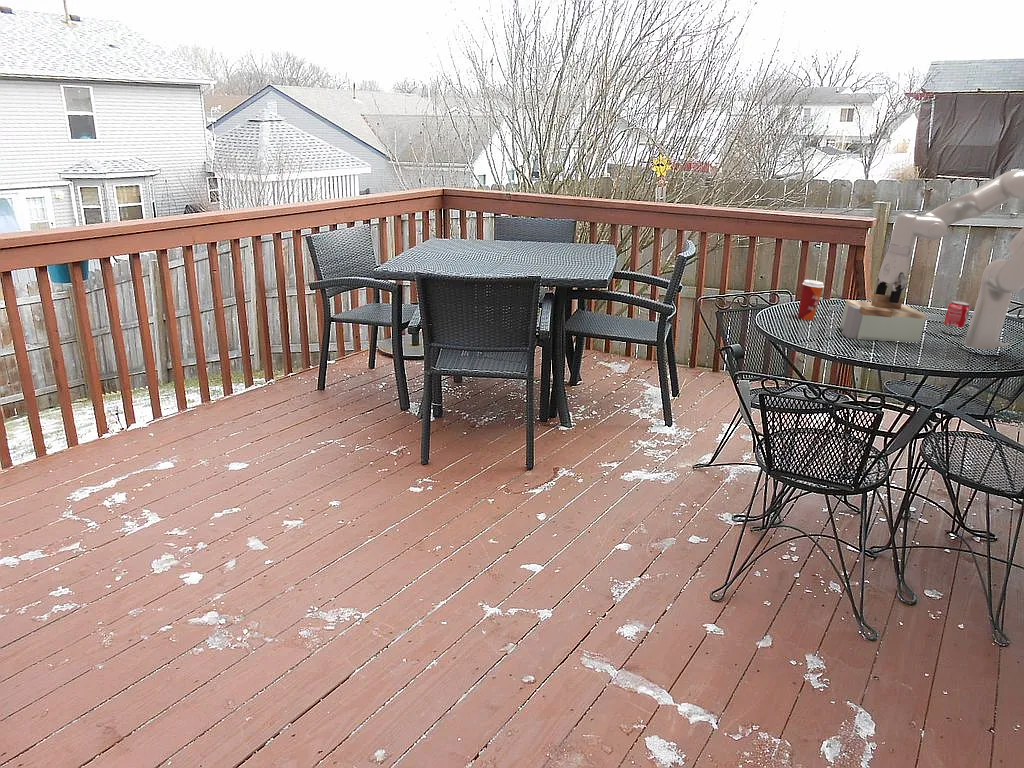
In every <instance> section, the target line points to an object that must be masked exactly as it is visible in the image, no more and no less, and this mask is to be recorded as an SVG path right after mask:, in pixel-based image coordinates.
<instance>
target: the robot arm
mask: <svg viewBox="0 0 1024 768" xmlns="http://www.w3.org/2000/svg"><path fill="white" fill-rule="evenodd" d="M1013 199H1017V200H1021V201H1024V170H1019V169H1017V170H1016V169H1013V170H1012V169H1011V170H1008V171H1006V172H1004V173H1003V174H1000V175H999V176H997V177H995V178H993V179H992V180H990V181H987V182H986V183H984V184H982V185H980V186H979V187H976V188H975V189H973V190H971V191H970V192H969V191H968V193H966V194H962V195H961V196H958V197H957V198H955V199H952V200H951V201H948V202H946V203H944V204H941V205H939V206H938V207H936V208H934V209H933V210H930V211H928V212H927V213H924V215H922V216H920V215H918V214H915V213H907V212H901V213H899V214H898V215H897V217H896V219H895V223H894V227H893V230H892V235H891V237H890V241H889V244H888V248H887V252H886V253H885V255H884V258H883V261H882V263H881V266H880V270H879V271H878V277H877V278H878V281H877V286H876V290H875V294H880V295H886V293H887V292H886V291H887V288H888V285H892V290H891V292H890V299H889V302H891V303H898V302H899V299H900V297H901V295H902V293H903V291H904V289H905V287H906V285H907V283H908V279H907V275H908V270H909V267H910V261H911V257H912V254H913V250H914V247H915V245H916V240H917V238H922V239H924V240H929V241H937V240H940V239H942V238H943V237H944V236H945V235H946V233H947V231H948V227H950V226H951V225H953V224H955V223H957V222H960V221H963V220H967V219H972V218H973V219H974V218H978V217H980V216H983V215H985V214H986V213H988V212H990V211H992V210H994V209H995V208H998V207H1000V206H1002V205H1004V204H1006V203H1008V202H1009V201H1011V200H1013ZM1008 252H1009V254H1010V255H1011V256H1010V257H1009V258H1008V259H1005V258H1000V259H995V260H992V261H991V262H990V263H988V264H987V265H986V267H985V268H984V270H983V273H982V276H981V282H980V287H979V288H980V289H979V292H978V295H977V296H978V297H977V299H976V303H975V306H974V310H973V312H972V316H971V319H970V323H969V326H968V329H967V332H966V336H965V340H964V344H965V345H966V346H968V347H972V348H977V349H994V348H996V347H1002V346H1008V345H1011V343H1010V342H1003V341H1001V340H999V339H1000V336H1001V332H1002V331H1003V330H1002V329H1003V328H1004V327H1003V326H1004V324H1005V323H1004V322H1005V320H1006V317H1007V315H1008V311H1009V309H1010V305H1011V301H1012V296H1013V295H1012V294H1014V293H1017V292H1019V291H1021V290H1022V289H1024V226H1023V227H1022V228H1021V229H1020V231H1018V233H1017V234H1016V235H1015V236H1014V237H1013V239H1012V240H1011V241H1010V243H1009V244H1008ZM887 284H888V285H887Z"/></svg>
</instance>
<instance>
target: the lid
mask: <svg viewBox="0 0 1024 768" xmlns="http://www.w3.org/2000/svg"><path fill="white" fill-rule="evenodd" d="M890 295H891V294H890ZM890 295H889V294H885V295H880V294H876V293H874V294H873V297H872V301H865V300H853V299H852V300H851V299H850V300H849V299H845V304H846V305H848V306H849V305H856V306H859V307H861V306H862V307H874V308H886V309H889V310H891V311H893V313H892V316H895V317H907V318H918V319H925V320H926V319H927V314H926V313H924V312H921V311H919V310H917V309H915V308H913V307H911V306H909V305H906V304H903V301H904V297H902V296H900V299H899V302H898V303H891V302H889V299H890Z"/></svg>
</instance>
